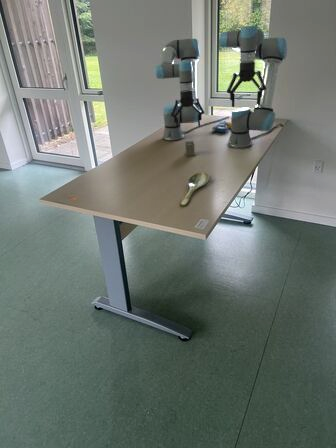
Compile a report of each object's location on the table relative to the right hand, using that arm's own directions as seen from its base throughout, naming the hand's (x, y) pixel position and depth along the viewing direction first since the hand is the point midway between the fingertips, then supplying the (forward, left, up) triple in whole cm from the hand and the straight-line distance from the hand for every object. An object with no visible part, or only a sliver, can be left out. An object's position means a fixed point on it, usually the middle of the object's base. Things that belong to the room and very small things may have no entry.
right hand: (245, 105), depth 179 cm
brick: (+21, -30, -33) cm, 49 cm away
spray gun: (-22, -68, -33) cm, 79 cm away
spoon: (+40, +19, -33) cm, 55 cm away
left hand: (+22, -30, -15) cm, 40 cm away
